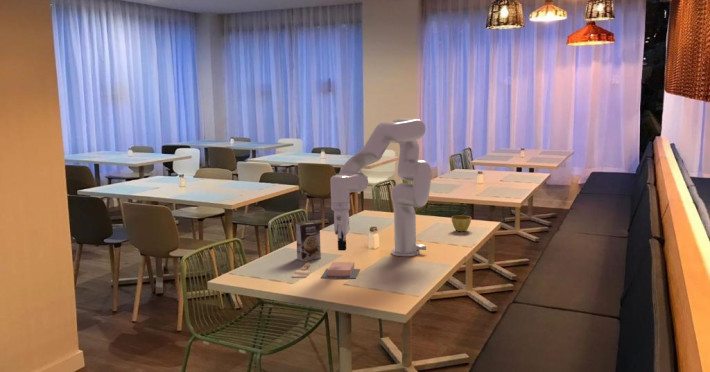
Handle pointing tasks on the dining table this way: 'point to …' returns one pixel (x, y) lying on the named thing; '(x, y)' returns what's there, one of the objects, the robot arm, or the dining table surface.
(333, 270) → the pale grey upright block
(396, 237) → the robot arm
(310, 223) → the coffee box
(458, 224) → the flower pot
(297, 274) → the beech turner
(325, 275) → the charcoal mat
